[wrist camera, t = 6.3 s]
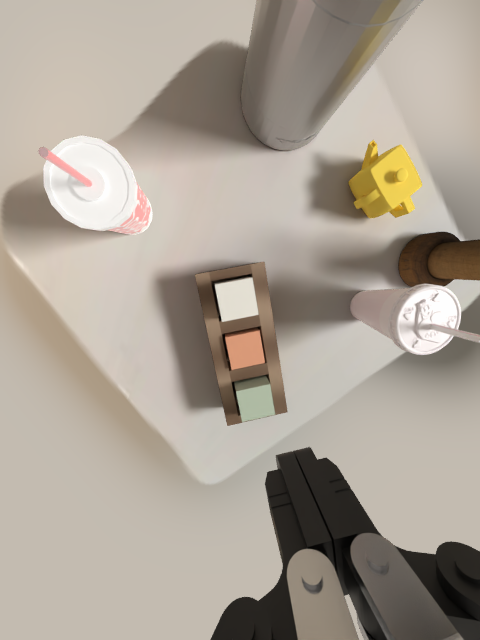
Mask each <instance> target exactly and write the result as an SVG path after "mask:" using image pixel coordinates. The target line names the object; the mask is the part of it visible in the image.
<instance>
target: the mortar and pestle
mask: <svg viewBox="0 0 480 640" xmlns="http://www.w3.org/2000/svg"><path fill="white" fill-rule="evenodd" d="M399 273H400V276H401V278H402V279H403V281H404V282H405V283H406V284H407V285H409V286H411V287H414V286H416V285H420V284H433V285H439V286H443V287H444V286H446V285H447V284H449V283H450V282H452V281H453V280H454V279H463V280H480V240H471V241H460V240H459V239H458V238H457V237H456V236H455V235H453V234H451V233H448V232H435V233H428V234H422V235H419V236H417V237H415V238H414V239H413V240H411V241H410V242H409V243H408V244H407V245H406V246H405V248H404V249H403V251H402V253H401V255H400V259H399Z"/></svg>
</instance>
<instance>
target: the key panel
mask: <svg viewBox="0 0 480 640" xmlns="http://www.w3.org/2000/svg"><path fill="white" fill-rule="evenodd" d="M243 277H252V278H253V284H254V290H255V296H256V302H257V308H258V314H259V315H255V316H250V317H245V318H240V319H235V320H230V321H225V322H222V319H221V314H220V309H219V304H218V299H217V294H216V289H215V284H214V283H217V282H222V281H227V280H233V279H238V278H243ZM195 278H196V283H197V287H198V292H199V296H200V301H201V306H202V310H203V315H204V320H205V324H206V329H207V334H208V338H209V343H210V347H211V352H212V357H213V361H214V366H215V371H216V375H217V380H218V385H219V389H220V394H221V398H222V403H223V408H224V412H225V417H226V422H227V426H229V425H234V424H238V423H242V419H241V414H240V409H239V404H238V399H237V394H236V389H235V384H234V381H239V380H243V379H248V378H252V377H257V376H262V375H266V377H267V379H268V381H269V383H270V386H271V392H272V398H273V404H274V410H275V415H277V414H281V413H286V412H287V406H286V399H285V393H284V386H283V379H282V373H281V366H280V360H279V353H278V347H277V340H276V334H275V327H274V321H273V314H272V308H271V301H270V295H269V288H268V282H267V275H266V269H265V262H260V263H253V264H248V265H243V266H237V267H232V268H226V269H221V270H215V271H210V272H205V273H199V274H195ZM253 327H257V328H258V329H259V330H260V336H261V342H262V348H263V354H264V360H265V363H262V364H258V365H253V366H248V367H244V368H239V369H234V370H232V369H231V364H230V359H229V354H228V349H227V344H226V339H225V334H224V333H229V332H234V331H239V330H244V329H249V328H253ZM271 416H273V415H271ZM267 417H268V416H267ZM263 418H264V417H263ZM258 419H260V418H258ZM254 420H255V419H254ZM250 421H251V420H250ZM245 422H247V421H245Z"/></svg>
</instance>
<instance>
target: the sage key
mask: <svg viewBox="0 0 480 640" xmlns="http://www.w3.org/2000/svg"><path fill="white" fill-rule="evenodd" d="M234 384H235V389H236V394H237V399H238V404H239V409H240V414H241V419H242V422H245V421H250V420H254V419H258V418H263V417H267V416H271V415H275V410H274V404H273V398H272V392H271V386H270V383H269V381H268V379H267V377H266V375H262V376H257V377H252V378H248V379H243V380H239V381H234Z"/></svg>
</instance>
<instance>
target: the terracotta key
mask: <svg viewBox="0 0 480 640" xmlns="http://www.w3.org/2000/svg"><path fill="white" fill-rule="evenodd" d="M224 334H225V339H226V344H227V349H228V354H229V359H230V364H231V369H232V370H234V369H239V368H244V367H248V366H253V365H258V364H262V363H265V360H264V354H263V348H262V342H261V336H260V330H259V329H258V328H257V327H253V328H249V329H244V330H239V331H234V332H229V333H224Z"/></svg>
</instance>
